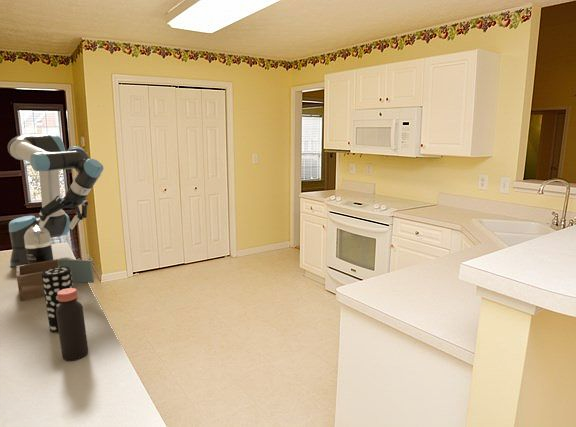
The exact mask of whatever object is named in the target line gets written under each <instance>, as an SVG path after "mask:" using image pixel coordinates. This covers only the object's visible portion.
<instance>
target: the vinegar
mask: <svg viewBox="0 0 576 427" xmlns="http://www.w3.org/2000/svg"><path fill="white" fill-rule="evenodd" d="M77 290H78V289H77V288H75V287H73V288H67V289H63V290H60V291H59V292H57V296H58V302H59V303H60V305H59V306H58V307H57V309H56V317H57V323H58V330H59V333H58V337H59V344H60V351H61V357H62V359H63V360H64V361H68V362H74V361H77V360H80V359H83V358H84V357H86V356H87V355H88V352H89V346H88V337H87V330H86V323H85V322H86V321H85V314H84V307H83V304H82V303H81V302H79V301H78V299H79V298H78V291H77Z"/></svg>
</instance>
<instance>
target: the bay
mask: <svg viewBox="0 0 576 427" xmlns="http://www.w3.org/2000/svg"><path fill="white" fill-rule="evenodd" d="M55 267H59V260H58V259H53V260H50V261H44V262H38V263H32V264H26V265H20V266H16V267H15V268H16V281H17V288H18V293H19V299H20V302H23V301H27V300H31V299H36V298H42V297H45V293H44V287H43V280H42V272H43V271H45V270H47V269H50V268H55Z"/></svg>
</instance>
